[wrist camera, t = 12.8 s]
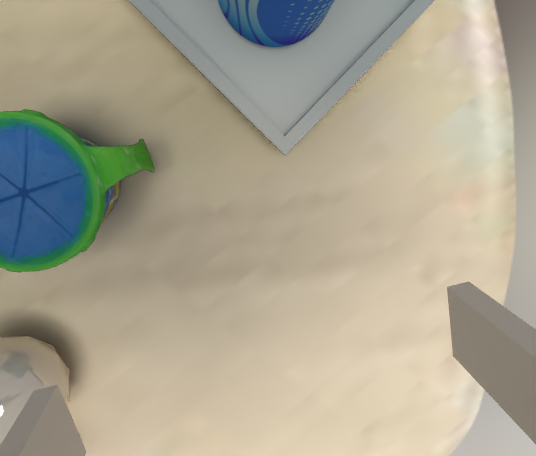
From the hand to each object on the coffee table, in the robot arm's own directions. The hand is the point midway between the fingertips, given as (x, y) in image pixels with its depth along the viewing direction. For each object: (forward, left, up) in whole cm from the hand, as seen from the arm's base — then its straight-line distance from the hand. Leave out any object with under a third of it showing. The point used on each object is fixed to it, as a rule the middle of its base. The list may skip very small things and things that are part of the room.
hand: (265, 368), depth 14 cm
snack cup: (-14, -8, -25) cm, 30 cm away
